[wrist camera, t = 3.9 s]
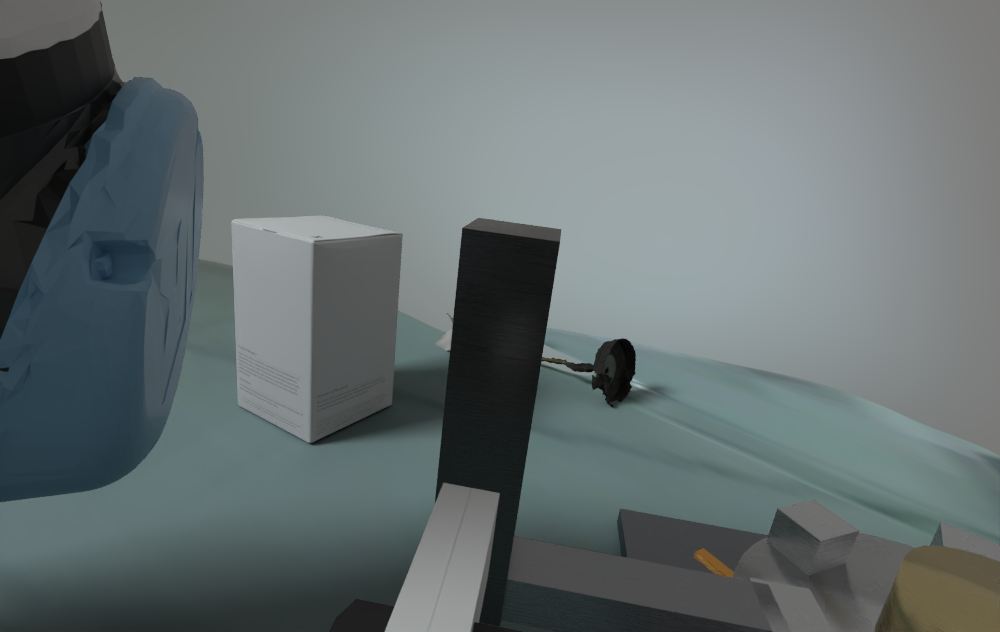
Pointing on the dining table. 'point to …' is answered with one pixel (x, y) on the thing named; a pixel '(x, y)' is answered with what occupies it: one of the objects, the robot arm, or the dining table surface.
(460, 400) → the round grey fixture
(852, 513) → the dining table surface
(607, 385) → the artificial flower
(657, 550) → the flange plate
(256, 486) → the dining table surface
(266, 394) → the supplement box
